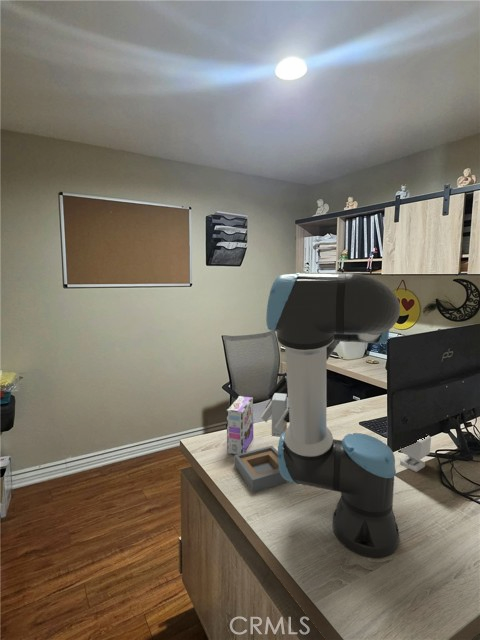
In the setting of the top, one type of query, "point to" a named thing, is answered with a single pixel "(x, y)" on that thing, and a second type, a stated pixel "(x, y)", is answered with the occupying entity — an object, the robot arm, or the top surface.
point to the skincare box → (278, 412)
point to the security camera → (416, 454)
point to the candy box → (239, 425)
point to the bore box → (259, 468)
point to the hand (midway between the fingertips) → (270, 424)
